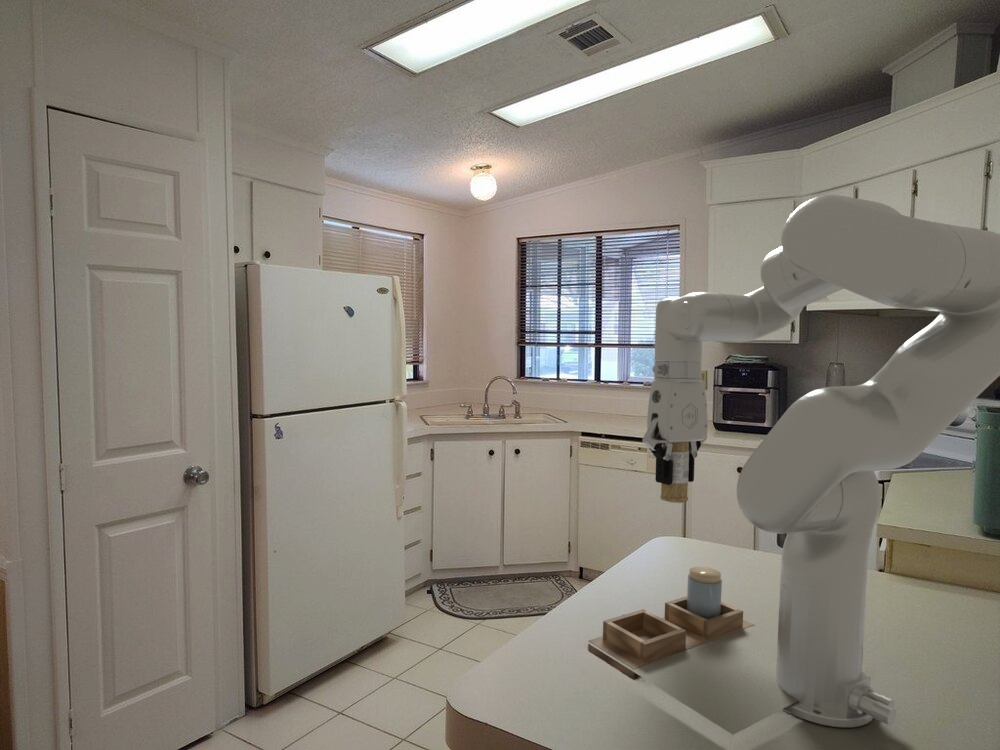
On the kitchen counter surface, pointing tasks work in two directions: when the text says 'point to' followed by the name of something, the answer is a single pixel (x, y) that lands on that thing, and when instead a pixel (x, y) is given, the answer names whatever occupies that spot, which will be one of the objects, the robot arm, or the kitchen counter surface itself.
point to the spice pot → (704, 592)
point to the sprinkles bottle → (677, 474)
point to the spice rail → (661, 634)
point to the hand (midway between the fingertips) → (674, 480)
